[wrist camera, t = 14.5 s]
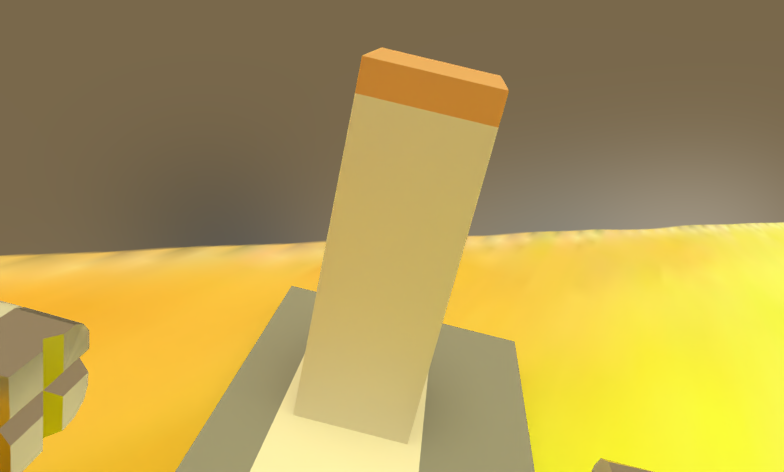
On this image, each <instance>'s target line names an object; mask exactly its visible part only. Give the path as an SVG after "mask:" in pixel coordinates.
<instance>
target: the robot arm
mask: <svg viewBox="0 0 784 472" xmlns="http://www.w3.org/2000/svg"><path fill="white" fill-rule="evenodd" d="M88 349H89V330H88V328H87V327H86V326H85V325H84V324H82V323H79V322H75V321H72V320H68V319H65V318H61V317H58V316H54V315H50V314H47V313H43V312H40V311H36V310H33V309H29V308H26V307H21V306H18V305H14V304H10V303H6V302H3V301H0V472H22V471H23V470H24V469H25V468H26V467H27V466H28V465H29V464H30V463H31V462H32V461H33V460H34V459H35V458H36V457H37V456H38V455H39V454H40V453H41V452H42V451H43V438H44V437H47V436H49V435H52V434H54V433H57V432H60V431H62V430H63V429H64V428H65V427H66V426H67V425H68V424H69V423H70V422H71V420H72V419H73V418H74V417H75V415H76V413H77V411H78V410H79V408H80V406H81V404H82V402H83V400H84V397H85V393H86V389H87V386H88V371H87V369H86V368H85V366H84V364H83V363H82V361H81V360H80V358H79V357H81V356H82V355H83V354H84V353H85V352H86V351H87V350H88ZM592 472H653V471H649V470H645V469H641V468H637V467H633V466H629V465H625V464H621V463H618V462H614V461H610V460H606V459H602V458H601V459H600V460H599V461H598V462H597V463H596V464H595V465H594V468H593V470H592Z"/></svg>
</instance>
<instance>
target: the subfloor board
mask: <svg viewBox="0 0 784 472" xmlns="http://www.w3.org/2000/svg"><path fill="white" fill-rule="evenodd" d="M316 293H317V292H314V291H310V290H306V289H302V288H298V287H294V286H292V287H291V288H290V290H289V291H288V293H287V294H286V296H285V298H284V299H283V301H282V302H281V304H280V306H279V307H278V309H277V310H276V312H275V314H274V315H273V317H272V318H271V320H270V322H269V323H268V325H267V326H266V328H265V330H264V331H263V333H262V334H261V336H260V338H259V339H258V341H257V342H256V344H255V345H254V347H253V349H252V350H251V352H250V353H249V355H248V357H247V358H246V360H245V361H244V363H243V365H242V366H241V368H240V369H239V371H238V373H237V374H236V376H235V377H234V379H233V381H232V382H231V384H230V385H229V387H228V389H227V390H226V392H225V393H224V395H223V397H222V398H221V400H220V401H219V403H218V404H217V406H216V408H215V409H214V411H213V412H212V414H211V416H210V417H209V419H208V420H207V422H206V424H205V425H204V427H203V428H202V430H201V432H200V433H199V435H198V436H197V438H196V440H195V441H194V443H193V444H192V446H191V448H190V449H189V451H188V452H187V454H186V455H185V457H184V459H183V460H182V462H181V463H180V465H179V467H178V468H177V470H176V471H175V472H535V471H534V464H533V458H532V451H531V445H530V438H529V432H528V426H527V419H526V413H525V406H524V400H523V393H522V387H521V380H520V374H519V367H518V361H517V355H516V348H515V342H514V341H510V340H506V339H502V338H498V337H494V336H490V335H486V334H482V333H478V332H474V331H470V330H466V329H462V328H458V327H454V326H450V325H446V324H442V326H441V329H440V333H439V336H438V340H437V343H436V347H435V350H434V354H433V357H432V361H431V364H430V368H429V371H428V375H427V378H426V382H425V385H424V389H423V392H422V396H421V399H420V403H419V406H418V410H417V413H416V417H415V420H414V424H413V427H412V430H411V434H410V437H409V441H408V444H404V443H400V442H396V441H392V440H388V439H384V438H380V437H376V436H372V435H369V434H365V433H361V432H357V431H353V430H349V429H345V428H341V427H338V426H334V425H330V424H326V423H322V422H318V421H314V420H310V419H307V418H303V417H299V416H295V415H293V413H294V407H295V402H296V397H297V392H298V387H299V381H300V376H301V371H302V366H303V361H304V356H305V350H306V345H307V340H308V335H309V330H310V324H311V319H312V314H313V309H314V304H315V298H316Z"/></svg>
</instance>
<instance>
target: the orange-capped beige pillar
mask: <svg viewBox="0 0 784 472" xmlns="http://www.w3.org/2000/svg"><path fill="white" fill-rule="evenodd" d="M508 92H509V90H508V88H507V87H506V85H505V83H504V81H503V80H502V78H501V76H499V75H495V74H490V73H486V72H482V71H478V70H474V69H470V68H465V67H461V66H457V65H453V64H448V63H445V62H440V61H436V60H432V59H427V58H423V57H419V56H415V55H411V54H407V53H403V52H398V51H394V50H390V49H386V48H379V49H377V50H375V51H372V52H370V53H368V54H365V55H363V56H362V59H361V65H360V70H359V75H358V80H357V85H356V91H355V96H354V101H353V106H352V111H351V116H350V122H349V127H348V132H347V137H346V143H345V148H344V153H343V158H342V163H341V169H340V174H339V179H338V184H337V189H336V195H335V200H334V205H333V210H332V215H331V221H330V227H329V231H328V236H327V241H326V246H325V252H324V257H323V262H322V267H321V272H320V278H319V283H318V288H317V293H316V298H315V304H314V309H313V314H312V319H311V324H310V330H309V335H308V340H307V345H306V350H305V356H304V361H303V366H302V371H301V376H300V381H299V387H298V392H297V397H296V402H295V407H294V413H293V415H295V416H299V417H303V418H307V419H310V420H314V421H318V422H322V423H326V424H330V425H334V426H338V427H341V428H345V429H349V430H353V431H357V432H361V433H365V434H369V435H372V436H376V437H380V438H384V439H388V440H392V441H396V442H400V443H404V444H408V441H409V437H410V434H411V430H412V427H413V424H414V420H415V417H416V413H417V410H418V406H419V403H420V399H421V396H422V392H423V389H424V385H425V382H426V378H427V375H428V371H429V368H430V364H431V361H432V357H433V354H434V350H435V347H436V343H437V340H438V336H439V333H440V329H441V326H442V322H443V319H444V316H445V312H446V309H447V305H448V302H449V298H450V295H451V291H452V288H453V284H454V281H455V277H456V274H457V270H458V267H459V263H460V260H461V256H462V253H463V249H464V246H465V242H466V239H467V235H468V232H469V228H470V225H471V221H472V218H473V214H474V211H475V207H476V204H477V200H478V197H479V194H480V190H481V187H482V183H483V180H484V176H485V172H486V169H487V166H488V162H489V159H490V155H491V152H492V148H493V144H494V141H495V138H496V134H497V131H498V127H499V124H500V120H501V117H502V113H503V110H504V106H505V103H506V99H507V96H508Z"/></svg>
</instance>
